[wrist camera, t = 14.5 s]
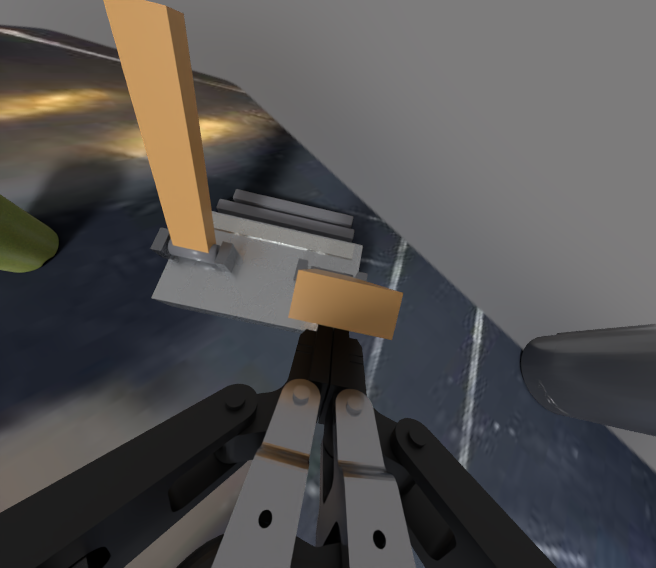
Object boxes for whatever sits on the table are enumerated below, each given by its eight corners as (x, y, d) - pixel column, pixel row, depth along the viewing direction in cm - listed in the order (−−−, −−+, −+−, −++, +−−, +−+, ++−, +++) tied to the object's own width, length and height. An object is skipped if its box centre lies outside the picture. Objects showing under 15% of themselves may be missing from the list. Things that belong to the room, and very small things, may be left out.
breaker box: (202, 224, 30) (178, 192, 24) (359, 260, 31) (373, 237, 25) (167, 305, 27) (129, 290, 21) (345, 343, 28) (357, 339, 22)
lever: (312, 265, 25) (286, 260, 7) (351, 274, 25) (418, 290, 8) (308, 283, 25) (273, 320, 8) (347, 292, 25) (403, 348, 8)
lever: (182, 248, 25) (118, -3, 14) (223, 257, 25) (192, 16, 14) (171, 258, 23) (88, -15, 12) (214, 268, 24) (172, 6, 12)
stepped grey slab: (228, 193, 32) (225, 186, 31) (354, 222, 33) (356, 217, 31) (219, 214, 31) (216, 207, 30) (350, 243, 32) (352, 238, 30)
